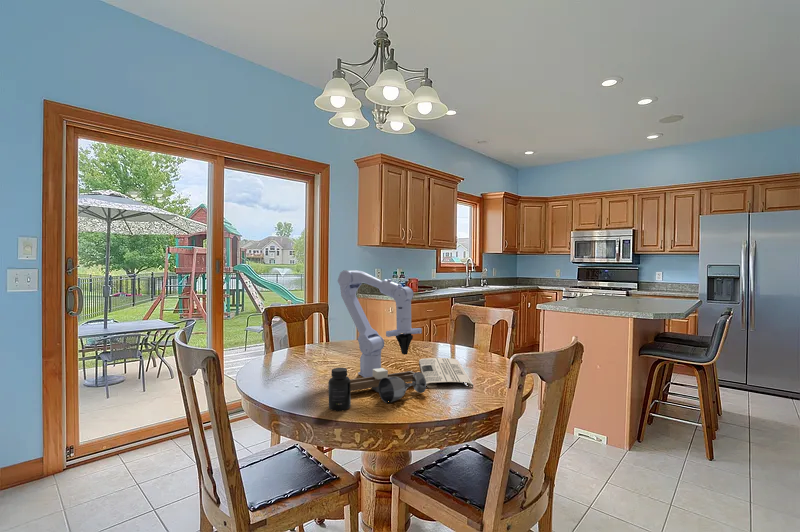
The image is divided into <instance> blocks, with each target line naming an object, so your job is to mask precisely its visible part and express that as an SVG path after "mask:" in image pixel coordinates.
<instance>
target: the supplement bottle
mask: <svg viewBox="0 0 800 532" xmlns="http://www.w3.org/2000/svg"><path fill="white" fill-rule="evenodd" d="M327 385H328V408H329V410H331V409H332V410H331V411H333V410H336V411H335V412H342V410H344V411H347V410H349V409H350V407H351V402H352V401H351V400H352V399H351V396H352V395H351V392H352V391H351V389H350V377H348V369H347V368H346V367H334V368H332V369H331V374H330V379H329V380H328V384H327ZM346 409H347V410H346Z"/></svg>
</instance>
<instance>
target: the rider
mask: <svg viewBox="0 0 800 532" xmlns="http://www.w3.org/2000/svg"><path fill="white" fill-rule="evenodd" d="M388 371H389V370H387V369H386V368H384V367H381V368H378V369H373V377H374V378H375V379H382V378H386V377H388V374H389V372H388Z"/></svg>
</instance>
